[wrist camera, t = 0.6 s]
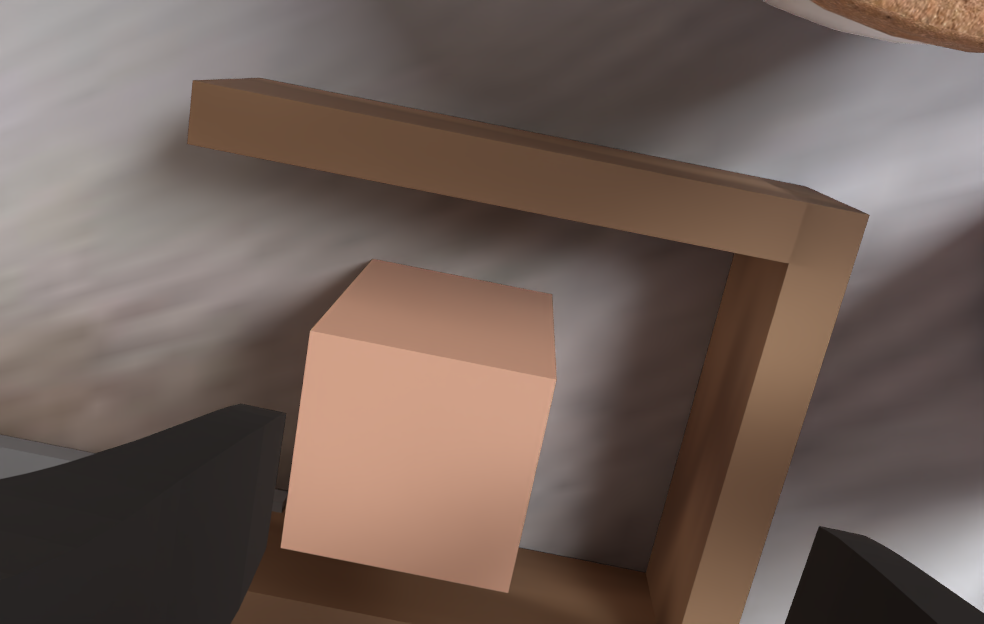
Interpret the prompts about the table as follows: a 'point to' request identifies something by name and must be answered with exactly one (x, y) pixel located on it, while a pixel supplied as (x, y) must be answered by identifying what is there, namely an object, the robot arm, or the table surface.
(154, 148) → the table surface
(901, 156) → the table surface
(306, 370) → the block
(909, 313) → the table surface
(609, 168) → the brown piece
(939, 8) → the lidded bowl
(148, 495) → the robot arm
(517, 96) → the table surface
